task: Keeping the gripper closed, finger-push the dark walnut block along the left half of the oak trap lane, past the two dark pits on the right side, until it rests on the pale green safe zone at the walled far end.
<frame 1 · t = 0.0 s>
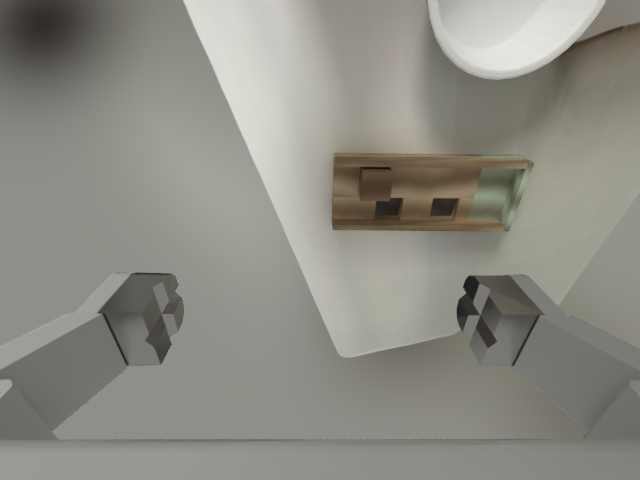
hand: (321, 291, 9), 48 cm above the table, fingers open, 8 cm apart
trap lane: (420, 188, 58), on the table
walnut block: (373, 179, 55), point 2 cm above the table, touching trap lane
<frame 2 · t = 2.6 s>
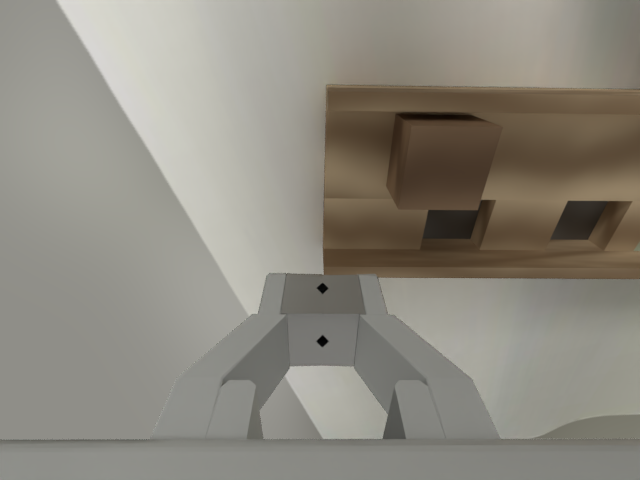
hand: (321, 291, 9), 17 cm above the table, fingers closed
trap lane: (531, 178, 25), on the table
walnut block: (426, 152, 21), point 2 cm above the table, touching trap lane
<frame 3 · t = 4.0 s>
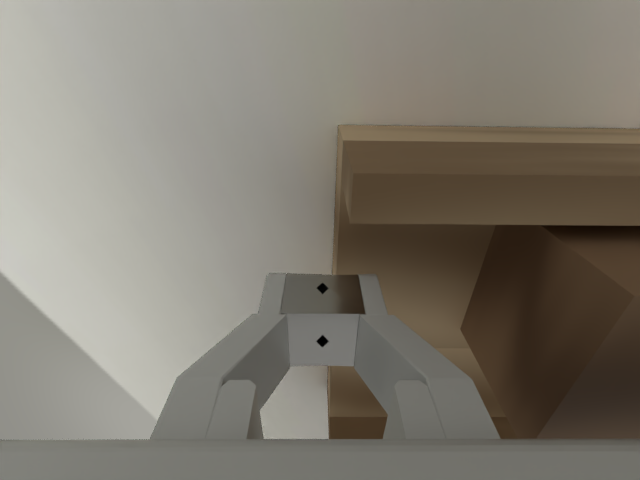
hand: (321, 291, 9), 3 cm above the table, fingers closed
walnut block: (558, 272, 10), point 2 cm above the table, touching trap lane
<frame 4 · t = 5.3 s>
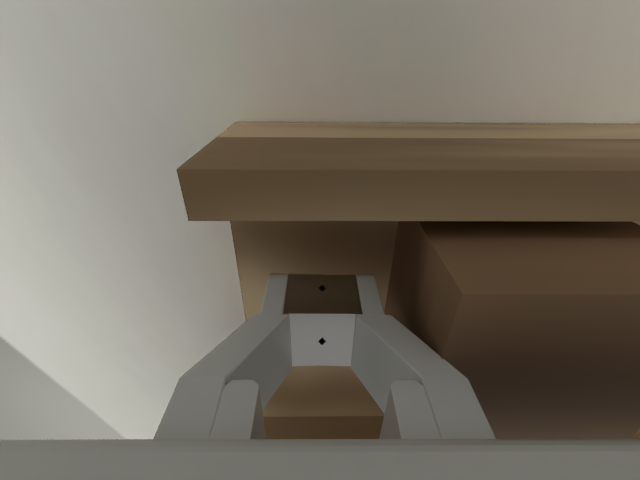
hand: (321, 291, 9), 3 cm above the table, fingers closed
walnut block: (470, 271, 10), point 2 cm above the table, touching gripper
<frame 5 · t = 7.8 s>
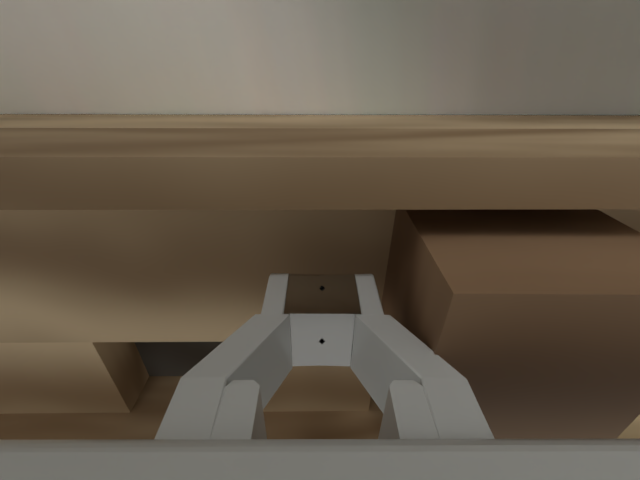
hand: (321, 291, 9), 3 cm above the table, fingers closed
trap lane: (323, 285, 13), on the table
walnut block: (465, 271, 10), point 2 cm above the table, touching gripper
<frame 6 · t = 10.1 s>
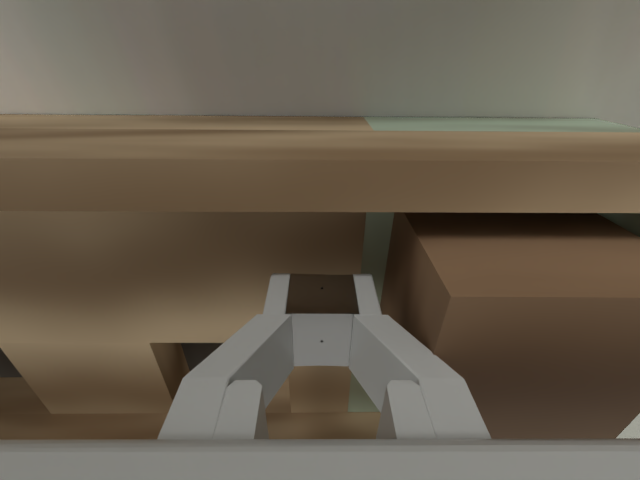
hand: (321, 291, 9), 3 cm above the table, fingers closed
trap lane: (115, 286, 12), on the table
walnut block: (463, 273, 10), point 2 cm above the table, touching gripper, trap lane
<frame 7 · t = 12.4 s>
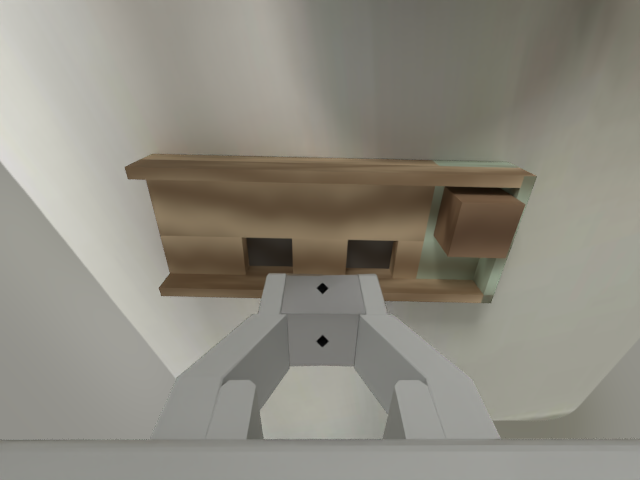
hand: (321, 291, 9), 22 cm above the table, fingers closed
trap lane: (327, 221, 32), on the table
walnut block: (465, 212, 29), point 2 cm above the table, touching trap lane
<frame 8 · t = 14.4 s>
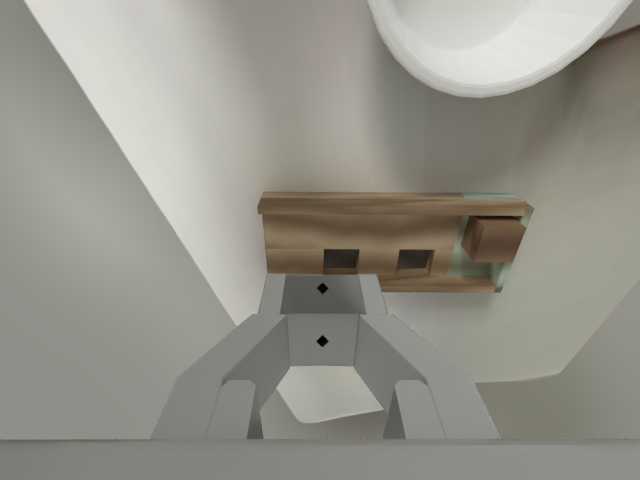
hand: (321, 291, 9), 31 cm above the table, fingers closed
trap lane: (383, 235, 44), on the table
walnut block: (483, 229, 41), point 2 cm above the table, touching trap lane
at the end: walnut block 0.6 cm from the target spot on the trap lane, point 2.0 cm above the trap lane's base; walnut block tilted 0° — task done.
